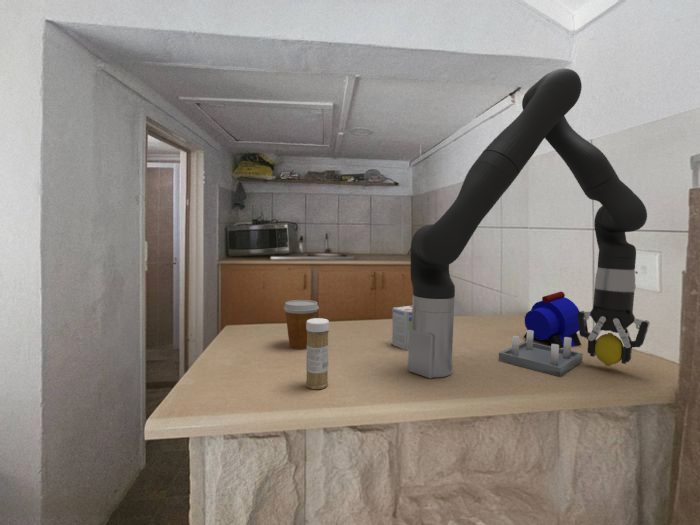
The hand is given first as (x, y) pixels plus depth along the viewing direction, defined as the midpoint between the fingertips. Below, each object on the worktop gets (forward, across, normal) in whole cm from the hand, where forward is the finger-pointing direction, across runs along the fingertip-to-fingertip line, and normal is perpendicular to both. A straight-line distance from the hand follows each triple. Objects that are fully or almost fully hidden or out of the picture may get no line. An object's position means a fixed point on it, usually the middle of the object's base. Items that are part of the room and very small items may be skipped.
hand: (608, 359), depth 86 cm
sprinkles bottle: (+4, -37, -58) cm, 68 cm away
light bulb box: (+3, -42, -20) cm, 46 cm away
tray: (+3, -13, -6) cm, 14 cm away
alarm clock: (+3, -18, +15) cm, 24 cm away
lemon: (+2, 0, 0) cm, 2 cm away
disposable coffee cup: (+4, -61, -45) cm, 76 cm away
